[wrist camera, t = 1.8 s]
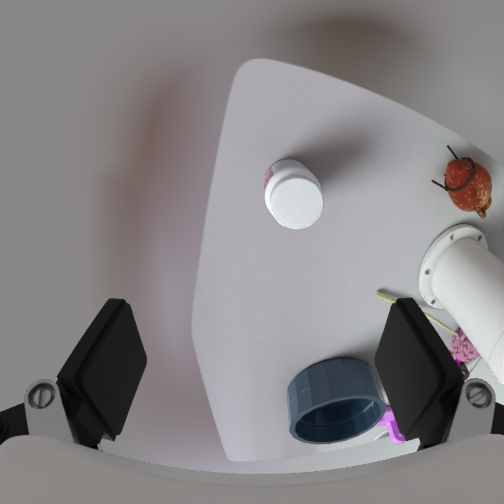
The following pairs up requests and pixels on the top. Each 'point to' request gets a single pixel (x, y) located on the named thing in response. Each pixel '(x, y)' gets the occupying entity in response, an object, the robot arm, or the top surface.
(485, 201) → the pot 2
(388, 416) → the bracket
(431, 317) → the artificial flower
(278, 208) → the pill bottle
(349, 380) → the pot
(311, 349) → the top surface
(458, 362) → the character figurine
